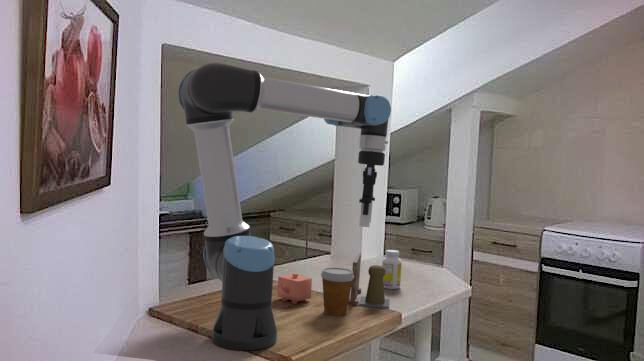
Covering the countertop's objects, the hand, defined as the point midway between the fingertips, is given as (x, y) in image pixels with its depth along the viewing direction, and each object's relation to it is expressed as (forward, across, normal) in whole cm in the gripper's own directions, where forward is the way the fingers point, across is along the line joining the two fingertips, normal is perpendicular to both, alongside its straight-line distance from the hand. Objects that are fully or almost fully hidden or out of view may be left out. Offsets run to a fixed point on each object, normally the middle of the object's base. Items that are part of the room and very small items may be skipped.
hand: (365, 224), depth 152 cm
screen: (+25, +14, +2) cm, 29 cm away
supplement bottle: (+24, +33, -10) cm, 42 cm away
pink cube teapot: (+26, +4, +20) cm, 33 cm away
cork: (+24, +10, -5) cm, 27 cm away
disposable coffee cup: (+26, -4, +6) cm, 27 cm away
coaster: (+25, +10, -5) cm, 27 cm away
